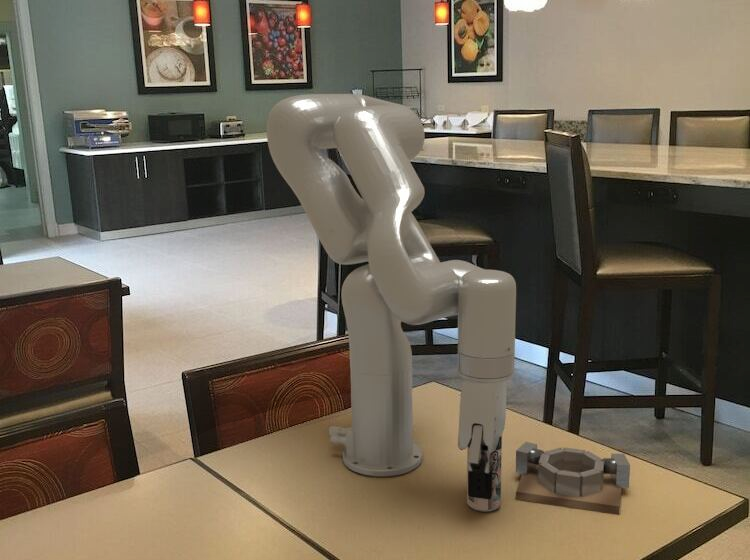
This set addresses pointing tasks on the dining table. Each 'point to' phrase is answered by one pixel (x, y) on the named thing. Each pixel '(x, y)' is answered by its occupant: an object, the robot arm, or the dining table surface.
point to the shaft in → (527, 458)
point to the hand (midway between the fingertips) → (484, 486)
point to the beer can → (495, 467)
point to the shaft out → (618, 470)
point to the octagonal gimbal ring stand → (570, 482)
